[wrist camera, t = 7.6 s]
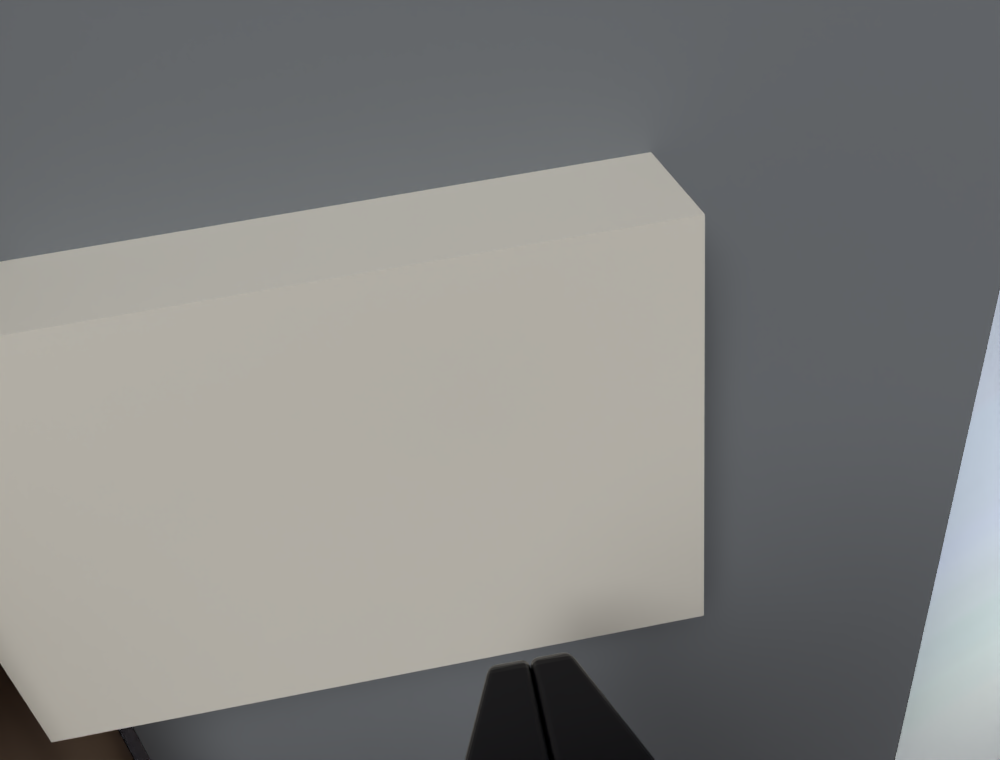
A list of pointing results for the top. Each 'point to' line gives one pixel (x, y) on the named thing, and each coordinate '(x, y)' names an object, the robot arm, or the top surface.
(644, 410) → the thick cream block
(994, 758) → the top surface
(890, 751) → the mat
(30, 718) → the flat brown block
